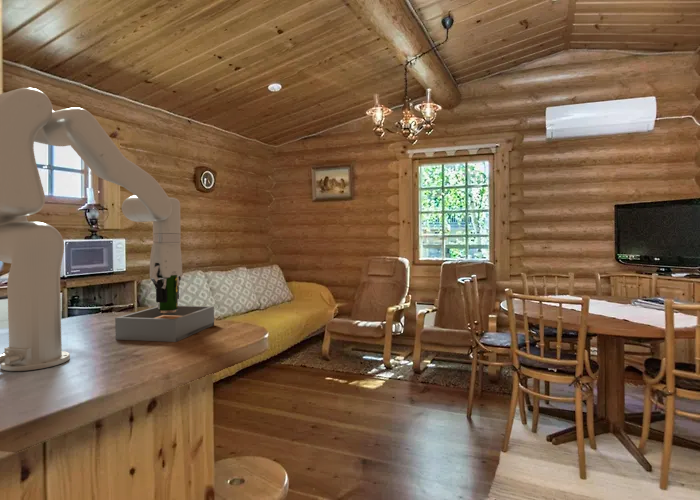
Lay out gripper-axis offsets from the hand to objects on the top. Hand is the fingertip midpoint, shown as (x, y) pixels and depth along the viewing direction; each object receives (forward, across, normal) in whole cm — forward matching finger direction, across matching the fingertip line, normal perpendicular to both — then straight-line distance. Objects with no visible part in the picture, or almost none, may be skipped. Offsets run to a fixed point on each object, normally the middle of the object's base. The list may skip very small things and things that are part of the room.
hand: (167, 300), depth 128 cm
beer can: (+4, 0, 0) cm, 4 cm away
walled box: (+9, 0, 0) cm, 9 cm away
